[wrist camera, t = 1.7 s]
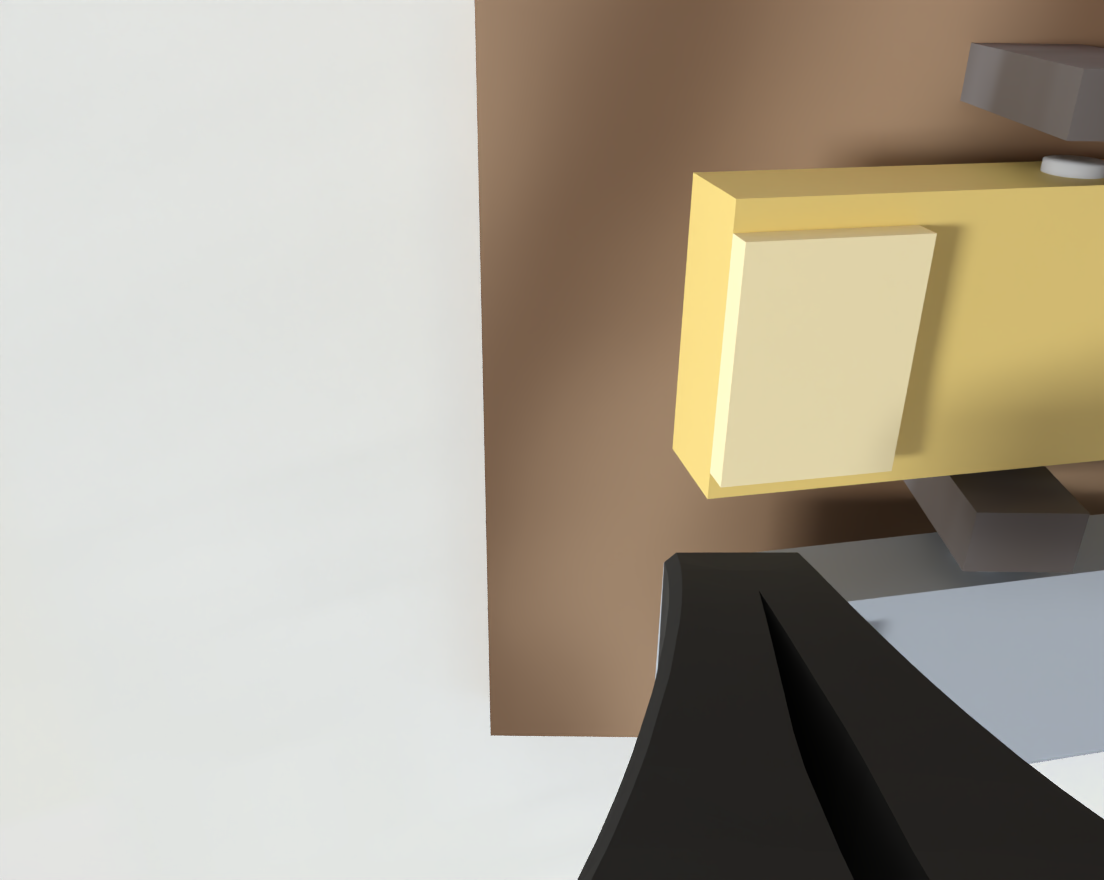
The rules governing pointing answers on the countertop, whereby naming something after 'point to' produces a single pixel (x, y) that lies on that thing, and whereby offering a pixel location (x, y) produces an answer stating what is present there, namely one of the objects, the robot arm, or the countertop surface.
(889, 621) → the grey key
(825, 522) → the walnut board
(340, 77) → the countertop surface
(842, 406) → the yellow rectangular block
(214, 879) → the countertop surface
